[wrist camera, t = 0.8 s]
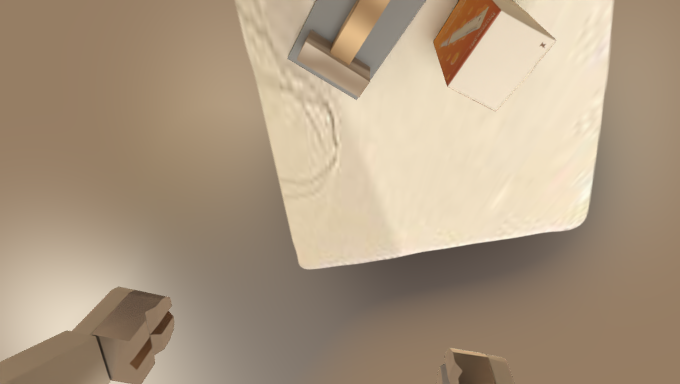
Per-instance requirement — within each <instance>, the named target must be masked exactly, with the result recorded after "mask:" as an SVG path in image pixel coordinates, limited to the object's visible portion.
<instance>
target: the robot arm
mask: <svg viewBox="0 0 680 384" xmlns="http://www.w3.org/2000/svg"><path fill="white" fill-rule="evenodd" d="M171 306H172V304H171V300H170V297H165V296H161V295H156V294H152V293H147V292H142V291H137V290H132V289H127V288H122V287H117V288H115V289H113V290H111V291H110V292H109V293H108V294H107V295H106V297H105V298H104V299H103V300H102V301H101V302H100V303H99V304H98V305H97V306H96V307H95V308H94V309H93V310H92V311H91V312H90V313H89V314H88V315H87V316H86V317H85V318H84V319H83V320H82V321H81V322H80V323H79V324H78V325H77V326H76V328H75V329H73V331H64V332H62V333H60V334H58V335H56V336H54V337H52V338H50V339H48V340H45V341H43V342H41V343H39V344H37V345H35V346H33V347H31V348H29V349H27V350H24V351H22V352H20V353H18V354H16V355H14V356H12V357H10V358H7V359H5V360H3V361H1V362H0V384H109V383H110V380H112V381H118V382H124V383H131V384H142V382H143V381H144V379H145V378H146V376H147V375H148V373H149V372H150V370H151V369H152V367H153V366H154V364H155V358H154V355H155V354H157V353H159V352H160V351H162V350H163V349H165V347H166V345H167V344H168V342H169V340H170V338H171V335H172V332H173V330H174V329H173V328H174V317H173V315H172V314H171V313H170V312H169V311H168V310H169V309H170V308H171ZM436 384H515V383H514V380H513V377H512V374H511V371H510V368H509V365H508V362H507V361H506V360H505V358H503V357H498V356H492V355H487V354H483V353H477V352H471V351H466V350H459V349H454V348H449V349H448V350H447V351H446V354H445V364H443V365H441V366H440V368H439V371H438V374H437V382H436Z"/></svg>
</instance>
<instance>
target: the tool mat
mask: <svg viewBox="0 0 680 384" xmlns="http://www.w3.org/2000/svg"><path fill="white" fill-rule="evenodd" d="M356 1H357V0H316V2H315V4H314V6H313V8H312V10H311V12H310V14H309V16H308V18H307V20H306V22H305V24H304V26H303V28H302V30H301V32H300V34H299V36H298V38H297V40H296V42H295V44H294V46H293V48H292V50H291V52H290V54H289V56H288V58H287V59H289V60H291V61H292V62H294V63H296V64H297V65H299V66H301V67H302V68H304V69H306V70H307V71H309V72H311V73H312V74H314V75H316V76H317V77H319V78H321V79H322V80H324V81H326V82H327V83H329V84H331V85H332V86H334V87H336V88H337V89H339V90H341V91H342V92H344V93H346V94H348V95H349V96H351V97H353V98H354V99H356V100H357V99H358V97H357V96H356V95H354V94H352V93H351V92H349V91H347V90H346V89H344V88H343V87H341V86H339V85H338V84H336V83H334V82H333V81H331V80H329V79H328V78H326V77H324V76H323V75H321V74H319V73H318V72H316V71H314V70H313V69H311V68H309V67H308V66H306V65H304V64H303V63H301V62H299V61H298V60H297V57H298V55H299V53H300V51H301V48H302V46H303V44H304V42H305V40H306V39H307V37H308V35H309V33H310V31H311V30H313V31H314V32H316V33H317V34H319V35H321V36H322V37H324V38H325V39H327V40H328V41H330V42H332V43H333V41H334V39H335V37H336V36H337V34H338V32H339V30H340V29H341V27H342V25H343V23H344V22H345V20H346V18H347V16H348V15H349V13H350V11H351V9H352V8H353V6H354V4H355V2H356ZM425 1H426V0H390V2H389V3H388V5H387V6H386V8H385V9H384V11H383V13H382V14H381V16H380V17H379V19H378V21H377V22H376V24H375V25H374V27H373V28H372V30H371V32H370V33H369V35H368V36H367V38H366V39H365V41H364V43H363V44H362V46H361V47H360V49H359V51H358V52H357V54H356V55H355V58H357V59H358V60H360V61H361V62H363V63H364V64H366V65H368V66H369V67H370V80H371V78H372V77H373V76H374V74H375V73H376V71H377V70H378V68H379V67H380V66H381V64H382V63H383V61H384V60H385V58H386V57H387V56H388V54H389V53H390V51H391V50H392V48H393V47H394V46H395V44H396V43H397V41H398V40H399V38H400V37H401V35H402V34H403V33H404V31H405V30H406V28H407V27H408V25H409V24H410V23H411V21H412V20H413V18H414V17H415V15H416V14H417V13H418V11H419V10H420V8H421V7H422V5H423V4H424V3H425Z"/></svg>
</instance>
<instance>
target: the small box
mask: <svg viewBox="0 0 680 384" xmlns="http://www.w3.org/2000/svg"><path fill="white" fill-rule="evenodd" d="M555 42H556V39H555V38H554V37H552V36H551V35H550V34H549V33H548V32H547V31H546V30H545V29H544V28H543V27H542V26H540V25H539V24H538V23H537V22H536V21H535V20H534V19H533V18H532V17H531V16H530V15H529V14H528V13H527V12H526V11H524V10H523V9H522V8H521V7H520V6H519V5H518V4H516V3H515V2H513V1H512V0H459V1H458V3H457V5H456V6H455V8H454V10H453V11H452V13H451V15H450V16H449V18H448V19H447V21H446V23H445V24H444V26H443V27H442V29H441V31H440V32H439V34H438V35H437V37H436V39H435V40H434V42H433V43H434V46H435V50H436V53H437V56H438V59H439V62H440V65H441V68H442V71H443V75H444V78H445V81H446V84H447V87H449V88H451V89H453V90H455V91H457V92H458V93H460V94H462V95H464V96H466V97H468V98H470V99H472V100H474V101H476V102H478V103H480V104H482V105H484V106H486V107H488V108H490V109H492V110H494V111H497V110H498V109H499V108H500V107H501V105H502V104H503V103H504V102H505V101H506V100H507V99H508V98H509V96H510V95H511V94H512V93H513V92H514V91H515V89H516V88H517V87H518V86H519V85H520V84H521V83H522V82H523V81H524V80H525V79H526V78H527V76H528V75H529V74H530V73H531V71H532V70H533V69H534V67H535V66H536V65H537V64H538V62H539V61H540V60H541V59H542V58H543V56H544V55H545V54H546V53H547V52H548V50H549V49H550V48H551V47H552V46H553V44H554V43H555Z"/></svg>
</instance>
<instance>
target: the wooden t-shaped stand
mask: <svg viewBox="0 0 680 384" xmlns="http://www.w3.org/2000/svg"><path fill="white" fill-rule="evenodd" d="M389 2H390V0H357V1H356V2H355V4H354V6H353V8H352V9H351V11H350V13H349V15H348V16H347V18H346V20H345V22H344V23H343V25H342V27H341V29H340V30H339V32H338V34H337V36H336V37H335V39H334V41H333V43H332V42H330V41H328V40H327V39H325V38H324V37H322V36H321V35H319V34H317V33H316V32H314V31H313V30H311V31H310V33H309V35H308V37H307V39H306V40H305V42H304V44H303V46H302V48H301V51H300V53H299V55H298V57H297V60H298V61H299V62H301V63H303V64H304V65H306V66H308V67H309V68H311V69H313V70H314V71H316V72H318V73H319V74H321V75H323V76H324V77H326V78H328V79H329V80H331V81H333V82H334V83H336V84H338V85H339V86H341V87H343V88H344V89H346V90H347V91H349V92H351V93H352V94H354V95H356V96H357V97H360V95H361V94H362V92H363V91H364V89H365V88H366V87H367V85H368V84H369V82H370V67H369V66H368V65H366V64H364V63H363V62H361V61H360V60H358V59H357V58H355V55H356V54H357V52H358V51H359V49H360V47H361V46H362V44H363V43H364V41H365V39H366V38H367V36H368V35H369V33H370V32H371V30H372V28H373V27H374V25H375V24H376V22H377V21H378V19H379V17H380V16H381V14H382V13H383V11H384V9H385V8H386V6H387V5H388V3H389Z"/></svg>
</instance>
